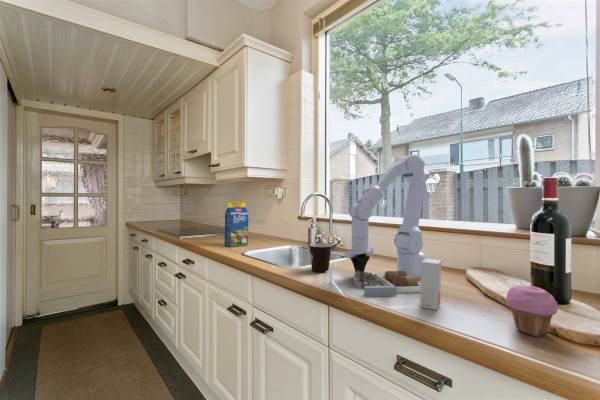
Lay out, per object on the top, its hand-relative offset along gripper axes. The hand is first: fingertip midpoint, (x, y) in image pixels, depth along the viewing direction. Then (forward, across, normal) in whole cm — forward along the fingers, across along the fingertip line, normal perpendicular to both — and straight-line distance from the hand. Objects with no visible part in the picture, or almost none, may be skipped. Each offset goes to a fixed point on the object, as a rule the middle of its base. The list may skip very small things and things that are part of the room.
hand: (359, 275), depth 105 cm
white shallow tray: (+1, +2, -14) cm, 15 cm away
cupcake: (+1, -8, -49) cm, 50 cm away
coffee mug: (+1, 0, +18) cm, 18 cm away
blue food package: (+2, +7, +90) cm, 90 cm away
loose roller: (0, +1, -16) cm, 16 cm away
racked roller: (0, +4, -11) cm, 12 cm away
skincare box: (+1, -7, -28) cm, 29 cm away
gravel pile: (+1, -5, -6) cm, 7 cm away
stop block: (+1, -11, -15) cm, 19 cm away
